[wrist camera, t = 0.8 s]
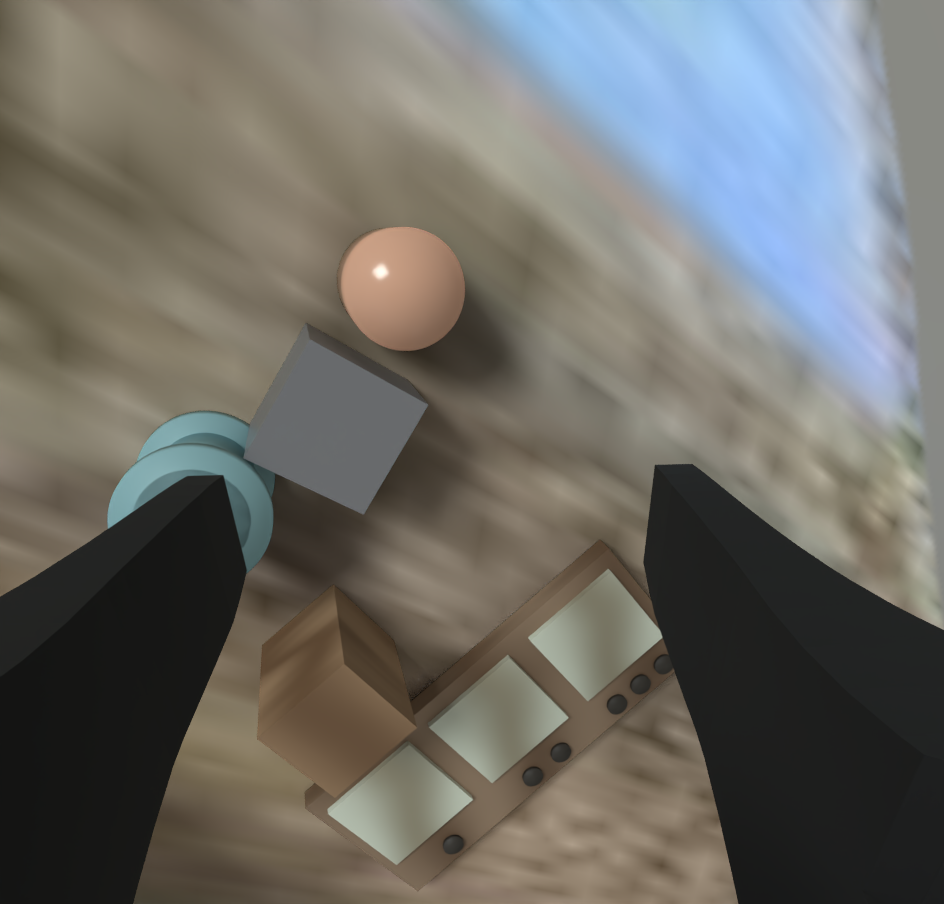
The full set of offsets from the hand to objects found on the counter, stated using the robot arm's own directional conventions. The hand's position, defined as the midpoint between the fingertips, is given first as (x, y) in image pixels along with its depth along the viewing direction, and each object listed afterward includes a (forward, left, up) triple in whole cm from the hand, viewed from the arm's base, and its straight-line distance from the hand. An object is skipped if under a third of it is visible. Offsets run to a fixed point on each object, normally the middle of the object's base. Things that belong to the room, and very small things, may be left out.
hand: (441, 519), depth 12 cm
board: (-6, -18, -17) cm, 25 cm away
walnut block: (-9, -9, -17) cm, 21 cm away
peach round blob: (+3, +1, -17) cm, 17 cm away
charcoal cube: (-2, -1, -17) cm, 17 cm away
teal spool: (-7, 0, -17) cm, 18 cm away
